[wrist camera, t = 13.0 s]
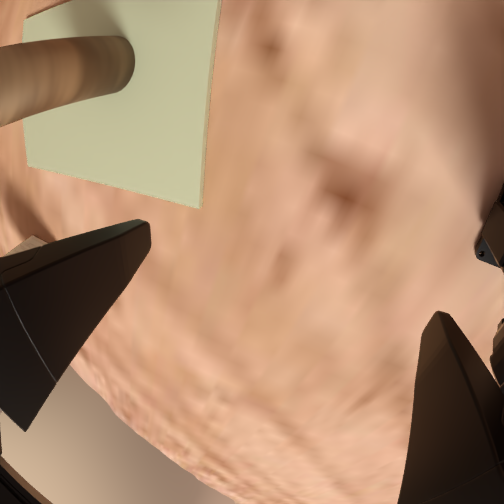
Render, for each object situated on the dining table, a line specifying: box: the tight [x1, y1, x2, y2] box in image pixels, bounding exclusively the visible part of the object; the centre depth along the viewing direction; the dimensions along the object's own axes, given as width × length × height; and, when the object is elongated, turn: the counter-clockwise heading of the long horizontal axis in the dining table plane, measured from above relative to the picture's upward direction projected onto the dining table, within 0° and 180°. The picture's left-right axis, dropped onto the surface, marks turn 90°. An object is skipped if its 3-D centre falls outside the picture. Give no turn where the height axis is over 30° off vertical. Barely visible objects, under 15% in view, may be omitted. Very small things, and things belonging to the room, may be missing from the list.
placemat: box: [22, 0, 222, 209], centre depth 21 cm, size 24×18×1 cm
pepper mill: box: [0, 36, 135, 127], centre depth 14 cm, size 5×5×14 cm
